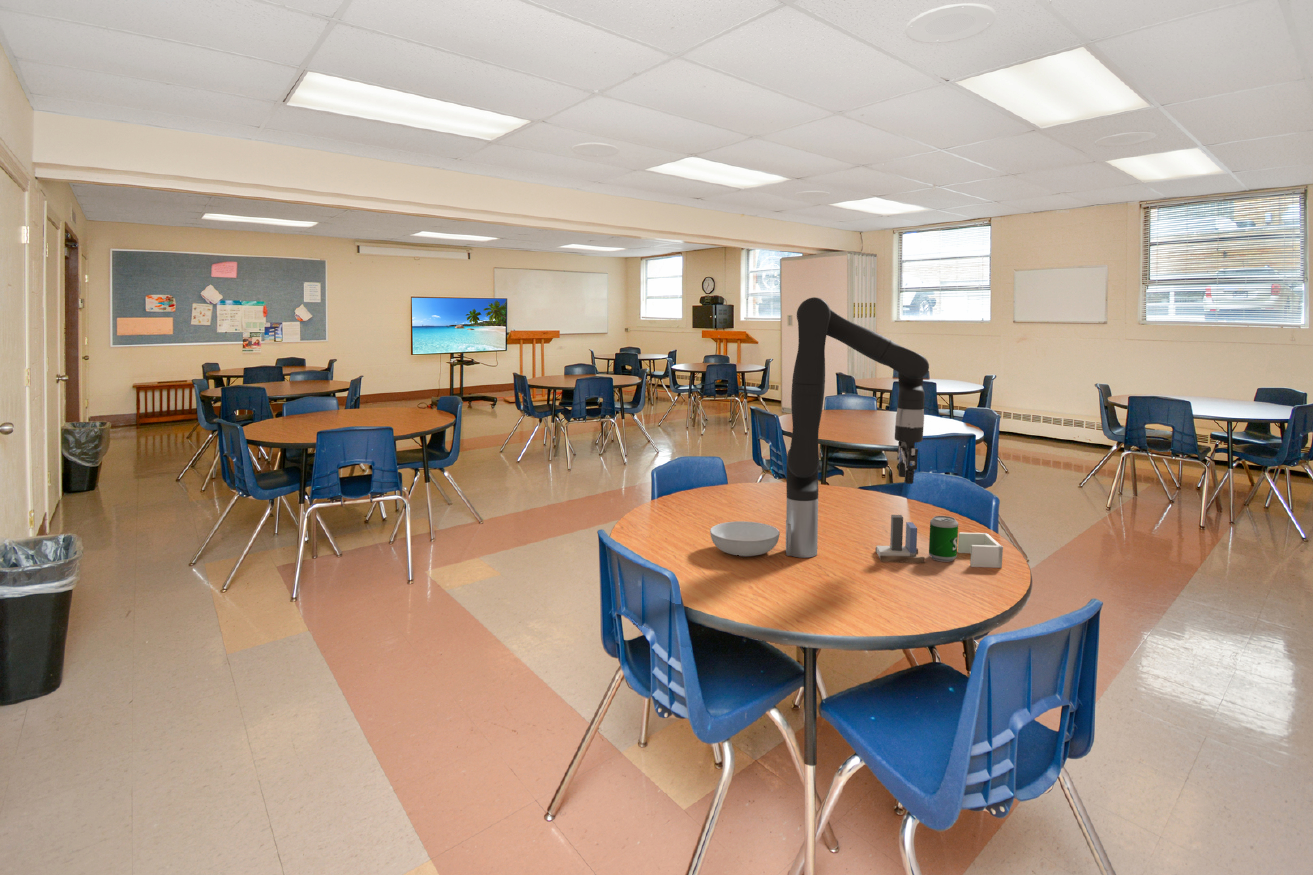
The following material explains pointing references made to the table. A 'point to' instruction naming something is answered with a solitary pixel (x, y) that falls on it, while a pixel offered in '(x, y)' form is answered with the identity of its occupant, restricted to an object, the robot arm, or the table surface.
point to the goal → (981, 549)
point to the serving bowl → (744, 537)
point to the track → (903, 558)
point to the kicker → (900, 539)
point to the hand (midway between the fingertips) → (905, 480)
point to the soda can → (943, 538)
